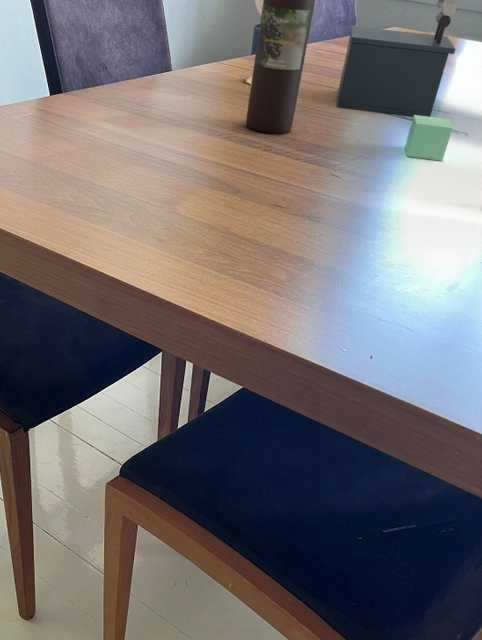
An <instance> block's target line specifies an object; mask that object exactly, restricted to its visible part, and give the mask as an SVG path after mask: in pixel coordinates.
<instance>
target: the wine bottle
mask: <svg viewBox="0 0 482 640" xmlns="http://www.w3.org/2000/svg"><path fill="white" fill-rule="evenodd" d="M315 3H316V0H264V1H263V8H262V15H260V21H259V22H260V23H259V30H258V36H257V42H256V50H255V55H254V56H255V57H254V64H253V69H252V75H251V77H252V83H251V85H250V90H249V98H248V105H247V111H246V118H245V124H246V126H247V128H249V129H251V130H253V131H255V130H256V131H255V132H259V133H265V134H276V135H278V134H285V133H289V132H290V131H291V130H292V127H293V124H294V123H293V122H294V118H295V112H296V108H297V107H296V106H297V100H298V96H299V91H300V87H301V86H300V84H301V79H302V75H303V68H304V64H305V57H306V53H307V48H308V47H307V46H308V41H309V35H310V30H311V25H312V21H313V15H314V10H315V9H314V8H315Z"/></svg>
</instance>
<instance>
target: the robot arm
mask: <svg viewBox="0 0 482 640" xmlns="http://www.w3.org/2000/svg"><path fill="white" fill-rule="evenodd" d="M459 2H460V0H436V6H437V7H438V8H440V9H442V10H441V12H443V14H444V15H448V16H449V17H451V16H454V15H455V14H456V10H457V7H458V4H459Z"/></svg>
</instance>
